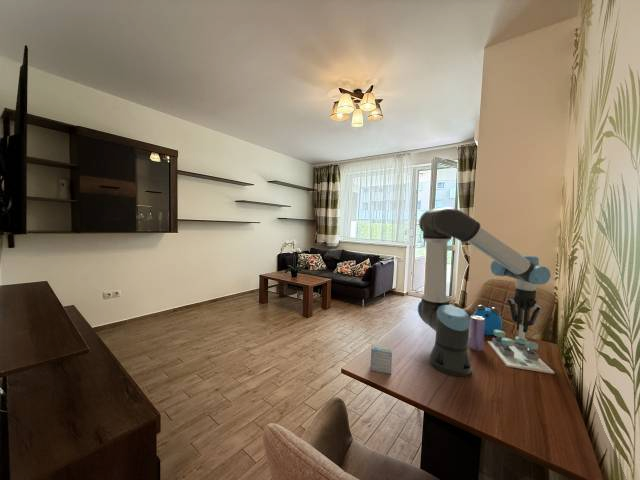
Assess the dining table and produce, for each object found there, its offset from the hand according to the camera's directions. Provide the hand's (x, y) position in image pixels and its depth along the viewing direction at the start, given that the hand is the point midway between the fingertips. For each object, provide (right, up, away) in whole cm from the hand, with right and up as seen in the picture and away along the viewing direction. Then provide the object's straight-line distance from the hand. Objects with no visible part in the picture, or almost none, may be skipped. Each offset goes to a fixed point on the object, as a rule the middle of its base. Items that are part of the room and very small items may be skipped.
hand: (521, 337), depth 118 cm
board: (-7, -6, -6) cm, 11 cm away
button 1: (-11, -2, -6) cm, 13 cm away
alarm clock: (-5, -4, +17) cm, 19 cm away
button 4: (0, -4, 0) cm, 4 cm away
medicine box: (-71, -5, -19) cm, 74 cm away
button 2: (-3, -3, -8) cm, 9 cm away
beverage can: (-22, -5, 0) cm, 22 cm away
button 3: (-9, -2, +3) cm, 9 cm away
